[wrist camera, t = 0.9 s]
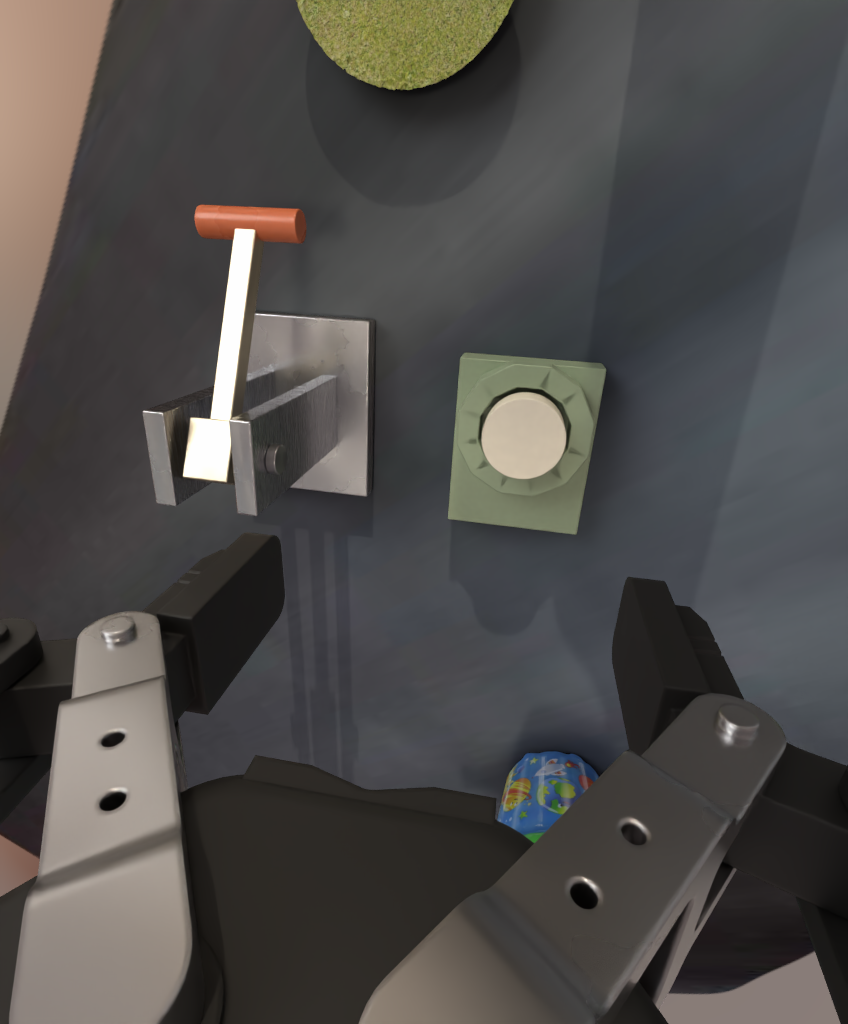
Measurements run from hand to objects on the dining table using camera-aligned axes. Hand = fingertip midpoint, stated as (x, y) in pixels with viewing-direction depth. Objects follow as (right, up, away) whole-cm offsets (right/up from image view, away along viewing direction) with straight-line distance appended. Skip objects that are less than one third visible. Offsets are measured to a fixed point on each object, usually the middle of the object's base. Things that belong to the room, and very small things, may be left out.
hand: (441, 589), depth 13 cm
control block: (+6, +6, +22) cm, 23 cm away
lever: (-9, +10, +15) cm, 20 cm away
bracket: (-8, +9, +23) cm, 26 cm away
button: (+5, +6, +18) cm, 20 cm away
